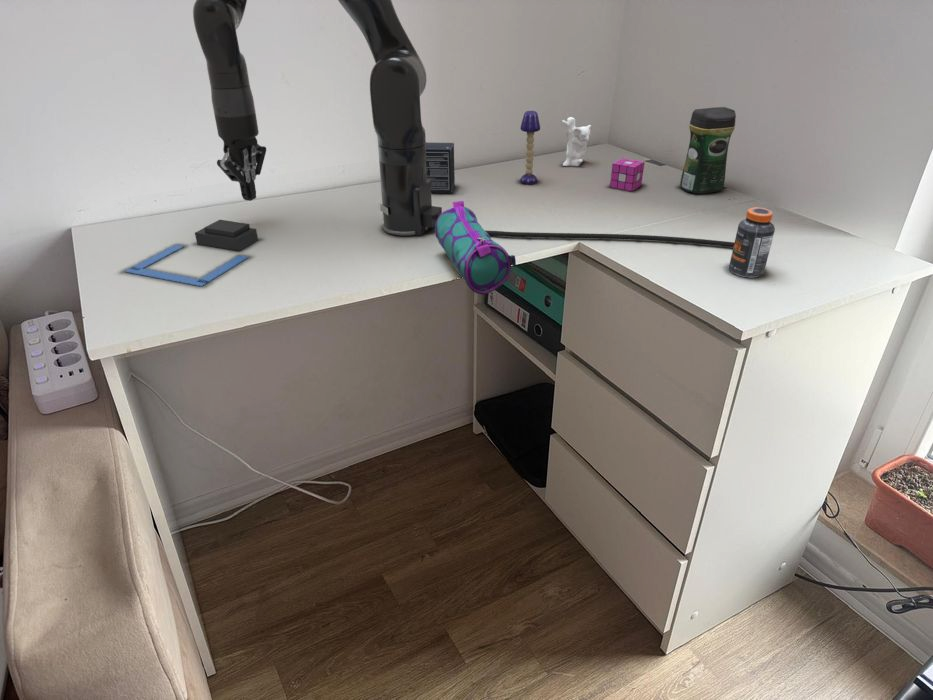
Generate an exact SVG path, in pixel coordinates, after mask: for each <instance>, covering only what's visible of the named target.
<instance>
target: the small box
mask: <svg viewBox="0 0 933 700" xmlns="http://www.w3.org/2000/svg"><path fill="white" fill-rule="evenodd" d="M426 168H427V180H430V181H431V194H453V192H454V189H455V185H456V182H455V181H456V180H455V142H430V141H429V142H428V141H426Z"/></svg>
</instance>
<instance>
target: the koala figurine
mask: <svg viewBox="0 0 933 700" xmlns="http://www.w3.org/2000/svg"><path fill="white" fill-rule="evenodd" d="M561 123H562V124H563V125H564V126H565V127H566V129H565V136H566V138H567V139H568V140H567V141H568V142H567V143H566V152H565V156H566V159H565V160H564V162H563V163H562V166H563V167H569V166H571V167H579V166H580V165H581V164H582V163H583V159H582V158H583V157H584V156H585V155H586V154H587V152H588V150H587V146H588V141H590V136H591V132H592V128H593V126H592V124H588V125H586V126H585V125H583V126H579V127H578V126H576V118H575V117H572V116H569V117H567V119H566V120H565V119H562V120H561Z"/></svg>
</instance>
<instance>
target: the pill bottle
mask: <svg viewBox="0 0 933 700" xmlns="http://www.w3.org/2000/svg"><path fill="white" fill-rule="evenodd" d="M772 219H773V211H772V210H770V209H768V208H765V207H757V206H756V207H750V208H748V209H747V212H746V215H745V219H742V220H741V221H740V222H739V223H738V225H737V230H736V233H735V238H734V242H735V243H734V247H732V252H731V256H730V260H729V265H728V269H729V271H730V272H731V273H732V274H734V275H737V276H739V277H744V278H758V277H761V276H763V275H764V273H765V271H766V265H767V262H768V258H769V255H770V251H771V247H772V243H773V239H774V235H775V232H776V228H775V225H774V224H773V223H772V222H771V221H772Z"/></svg>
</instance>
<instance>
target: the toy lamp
mask: <svg viewBox="0 0 933 700" xmlns="http://www.w3.org/2000/svg"><path fill="white" fill-rule="evenodd" d="M540 130H541V123H540V119H539V113H538V112H537V111H536V110H527V111H524V113H523V117H522V120H521V123H520V131H521V132H525V133H526V151H525V155H526V157H525V170H524V171H525V173H524V174H523V175H521V177H520V180H519V182H520V183H521V184H523V185H535V184H537V183H538V178H537V176H536V175H535V174H533V172H534V171H533V167H534V163H533V162H534V153H535V152H534V148H535V144H534V142H535V137H534V136H535V133H537V132H539V131H540Z"/></svg>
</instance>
